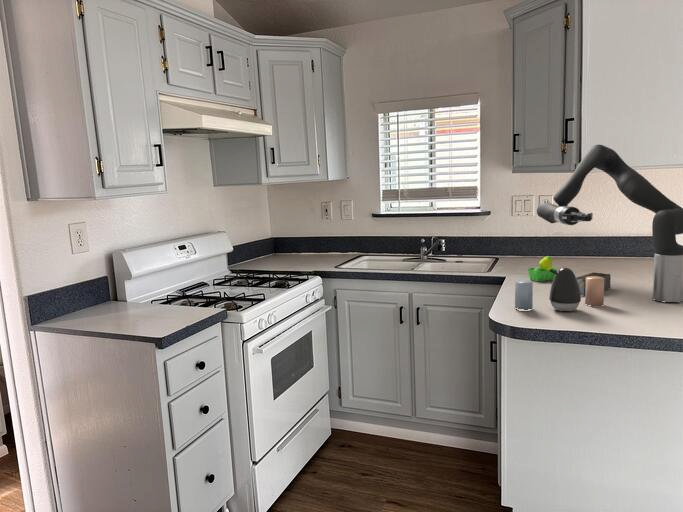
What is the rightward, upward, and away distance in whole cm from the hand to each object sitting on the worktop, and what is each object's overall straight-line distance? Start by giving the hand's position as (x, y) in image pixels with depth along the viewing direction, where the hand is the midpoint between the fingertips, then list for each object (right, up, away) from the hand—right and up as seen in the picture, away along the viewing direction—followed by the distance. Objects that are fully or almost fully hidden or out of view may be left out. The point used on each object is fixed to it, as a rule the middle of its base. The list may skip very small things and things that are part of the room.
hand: (589, 218), depth 199 cm
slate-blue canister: (-29, -34, -12) cm, 46 cm away
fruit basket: (-4, -25, +35) cm, 44 cm away
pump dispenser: (-16, -34, -15) cm, 40 cm away
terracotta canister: (-3, -32, -11) cm, 34 cm away
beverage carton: (+5, -29, +11) cm, 31 cm away
